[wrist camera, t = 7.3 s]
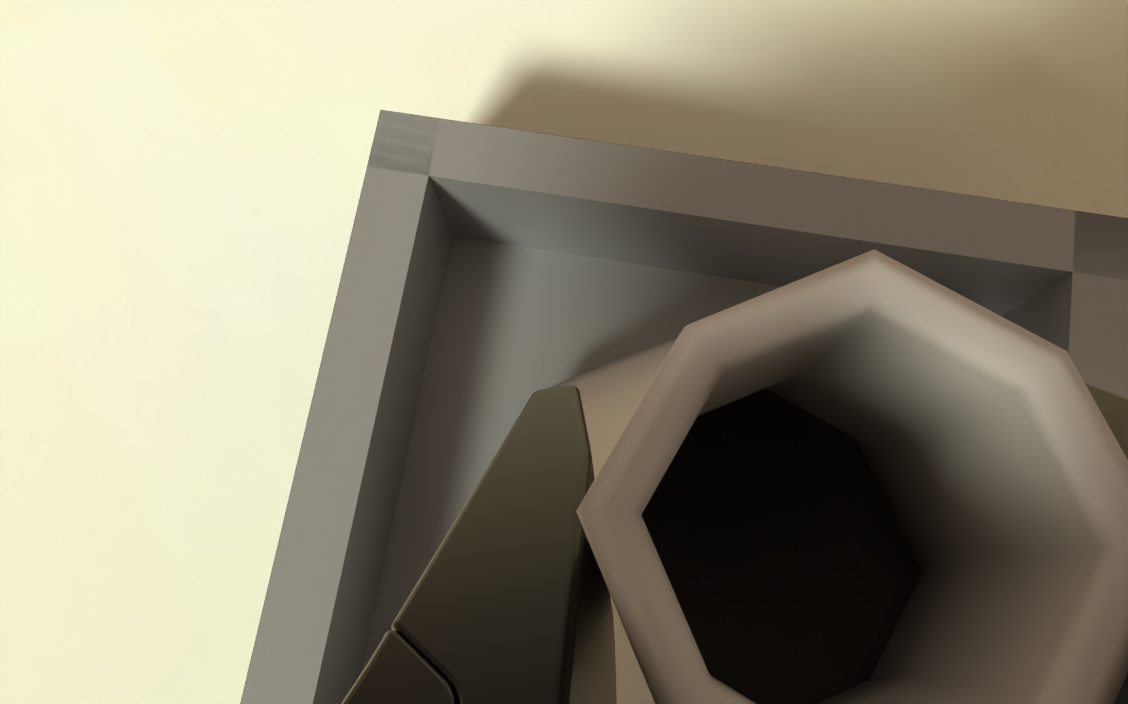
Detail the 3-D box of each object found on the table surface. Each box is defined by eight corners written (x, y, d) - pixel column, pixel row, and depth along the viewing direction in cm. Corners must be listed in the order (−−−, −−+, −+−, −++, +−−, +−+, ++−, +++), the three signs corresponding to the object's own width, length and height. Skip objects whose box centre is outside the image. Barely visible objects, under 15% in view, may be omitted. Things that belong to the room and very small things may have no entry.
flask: (667, 919, 14) (885, 1730, 4) (366, 539, 15) (-10, 465, 5) (1005, 587, 15) (1821, 599, 5) (695, 261, 16) (872, -219, 6)
